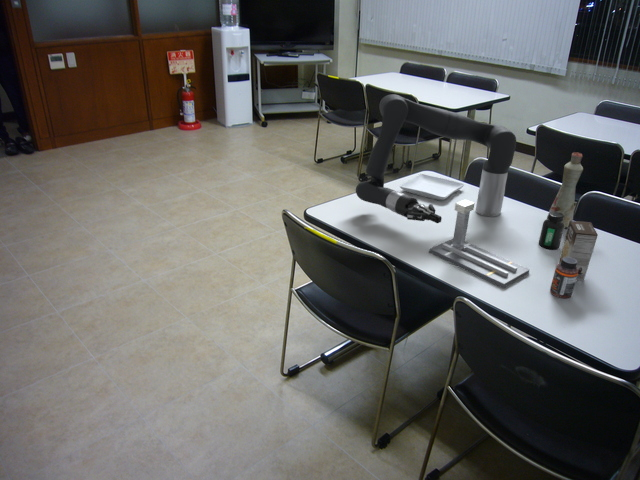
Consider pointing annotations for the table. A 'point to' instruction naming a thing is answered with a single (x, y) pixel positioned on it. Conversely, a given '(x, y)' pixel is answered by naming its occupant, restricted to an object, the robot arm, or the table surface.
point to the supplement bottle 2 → (564, 278)
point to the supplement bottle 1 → (552, 231)
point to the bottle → (568, 189)
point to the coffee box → (579, 245)
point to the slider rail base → (481, 263)
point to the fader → (461, 223)
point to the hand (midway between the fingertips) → (440, 220)
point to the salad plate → (431, 186)
